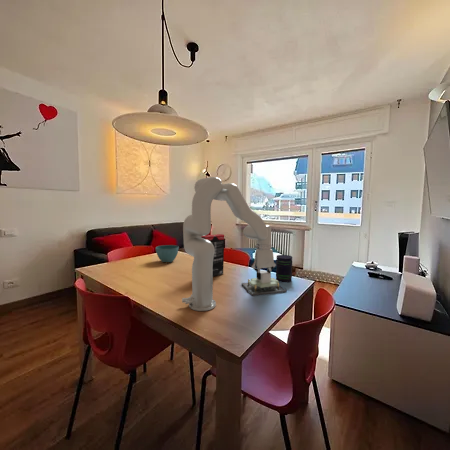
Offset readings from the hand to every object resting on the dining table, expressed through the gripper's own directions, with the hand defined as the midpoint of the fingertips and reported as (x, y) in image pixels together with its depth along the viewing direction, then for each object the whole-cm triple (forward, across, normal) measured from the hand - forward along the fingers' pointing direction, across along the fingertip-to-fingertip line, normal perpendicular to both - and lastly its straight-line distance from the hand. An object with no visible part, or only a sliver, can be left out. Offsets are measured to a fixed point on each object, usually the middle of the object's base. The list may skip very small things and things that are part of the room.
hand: (263, 278), depth 129 cm
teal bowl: (+6, -50, +75) cm, 90 cm away
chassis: (+6, 0, 0) cm, 6 cm away
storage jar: (+6, +19, +10) cm, 22 cm away
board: (+3, 0, 0) cm, 3 cm away
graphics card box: (+6, -23, +30) cm, 38 cm away
